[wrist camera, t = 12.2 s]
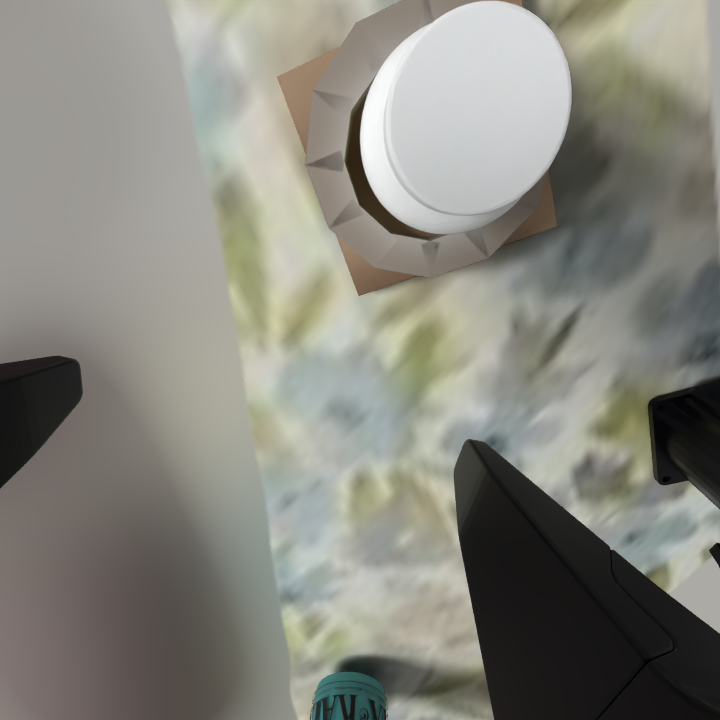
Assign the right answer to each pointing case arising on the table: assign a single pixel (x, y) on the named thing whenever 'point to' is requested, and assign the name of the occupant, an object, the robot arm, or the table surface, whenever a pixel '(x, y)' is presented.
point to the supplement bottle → (465, 117)
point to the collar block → (346, 171)
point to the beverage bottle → (349, 698)
